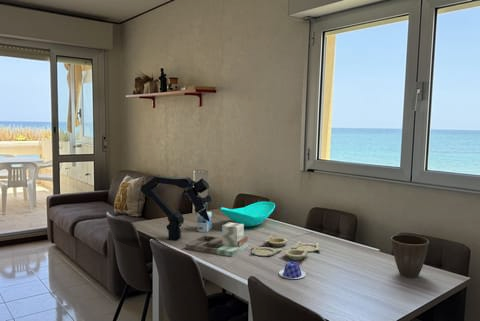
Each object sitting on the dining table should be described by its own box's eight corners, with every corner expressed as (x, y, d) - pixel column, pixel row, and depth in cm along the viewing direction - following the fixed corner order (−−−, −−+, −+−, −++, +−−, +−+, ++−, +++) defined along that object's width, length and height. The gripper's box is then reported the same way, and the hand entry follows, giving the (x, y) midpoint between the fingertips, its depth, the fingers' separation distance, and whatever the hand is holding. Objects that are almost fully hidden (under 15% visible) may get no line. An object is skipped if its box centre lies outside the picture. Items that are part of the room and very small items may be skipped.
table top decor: (259, 217, 274) (259, 199, 273) (284, 225, 251) (285, 205, 250) (212, 225, 252) (211, 205, 250) (235, 235, 229) (235, 213, 228)
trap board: (186, 248, 203) (185, 238, 203) (204, 239, 220) (204, 230, 220) (232, 256, 191) (232, 245, 190) (248, 245, 208) (248, 236, 207)
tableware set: (325, 247, 206) (325, 240, 205) (312, 265, 179) (312, 257, 179) (265, 239, 220) (265, 233, 220) (244, 255, 194) (244, 247, 193)
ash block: (222, 243, 203) (222, 225, 202) (229, 239, 210) (229, 222, 210) (237, 246, 199) (237, 227, 198) (243, 241, 207) (243, 224, 206)
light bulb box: (207, 232, 235) (207, 215, 234) (197, 231, 237) (196, 214, 236) (212, 227, 246) (212, 211, 245) (202, 227, 247) (202, 211, 246)
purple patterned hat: (285, 268, 175) (285, 257, 175) (310, 273, 169) (310, 261, 169) (274, 276, 165) (274, 265, 165) (299, 282, 159) (299, 270, 159)
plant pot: (409, 284, 156) (410, 246, 154) (382, 271, 169) (383, 236, 168) (435, 278, 162) (436, 241, 160) (407, 266, 175) (408, 233, 174)
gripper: (205, 189, 208) (220, 213, 206) (207, 190, 226) (221, 212, 225) (188, 200, 207) (203, 224, 205) (191, 200, 225) (205, 222, 224)
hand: (208, 220), depth 215 cm, fingers closed
